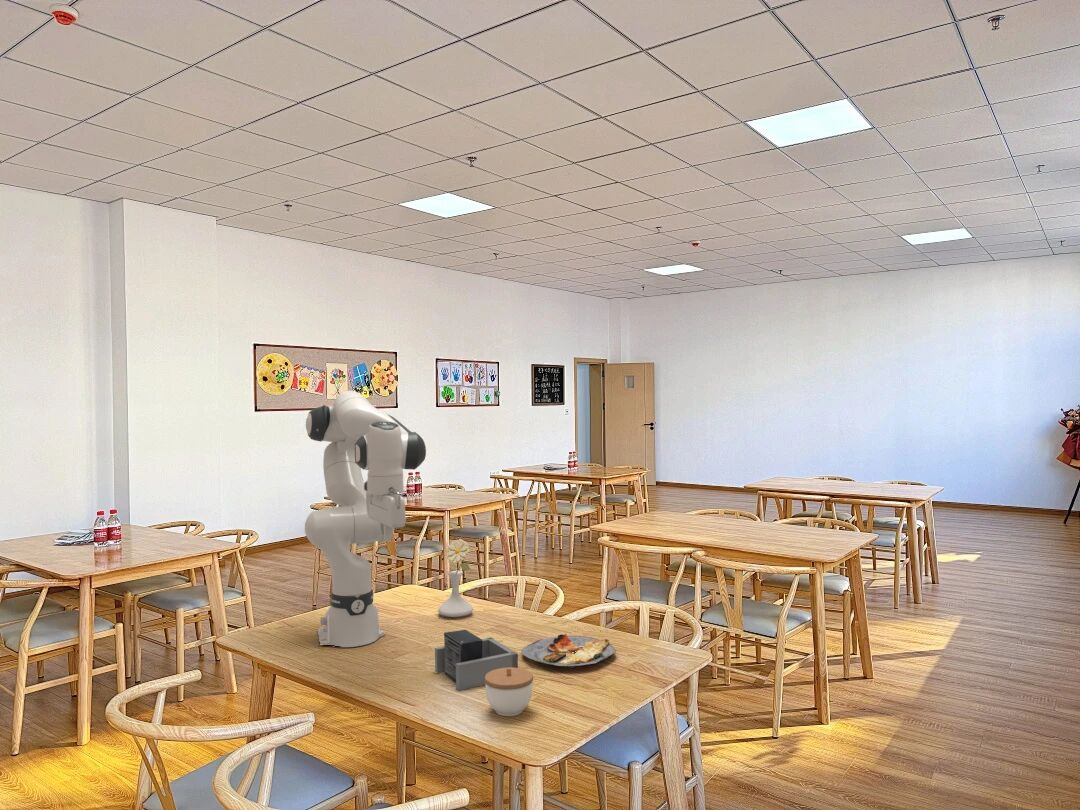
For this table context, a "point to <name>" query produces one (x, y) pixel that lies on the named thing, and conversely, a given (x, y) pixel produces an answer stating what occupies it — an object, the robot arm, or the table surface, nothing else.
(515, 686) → the lidded jar
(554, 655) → the food plate
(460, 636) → the small box
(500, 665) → the box
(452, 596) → the flower in vase
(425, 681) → the table surface
